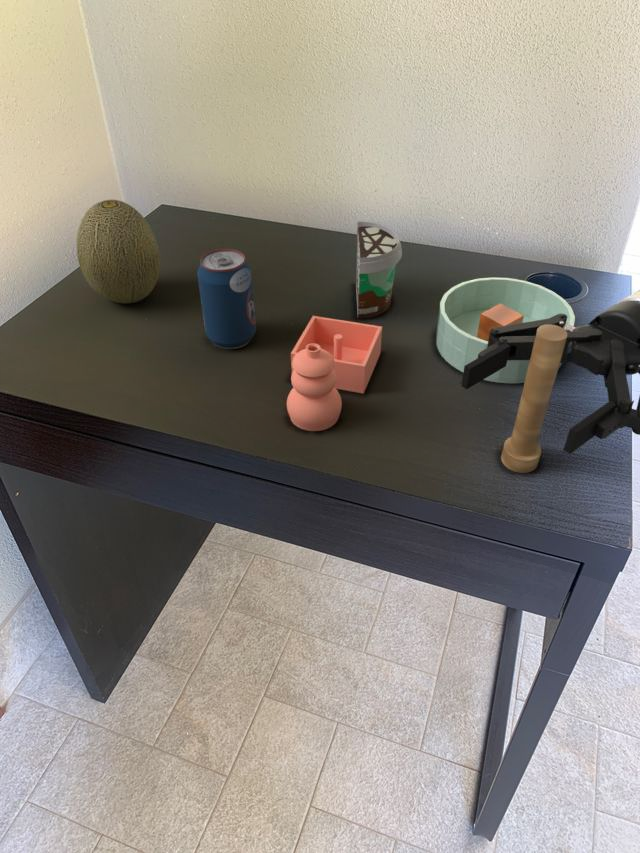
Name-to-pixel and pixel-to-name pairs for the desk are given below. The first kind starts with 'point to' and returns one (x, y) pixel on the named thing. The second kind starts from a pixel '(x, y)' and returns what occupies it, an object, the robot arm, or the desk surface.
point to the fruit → (118, 252)
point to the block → (497, 320)
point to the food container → (375, 267)
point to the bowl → (479, 296)
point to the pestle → (534, 400)
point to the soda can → (227, 298)
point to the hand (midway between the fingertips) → (514, 408)
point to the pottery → (330, 369)
